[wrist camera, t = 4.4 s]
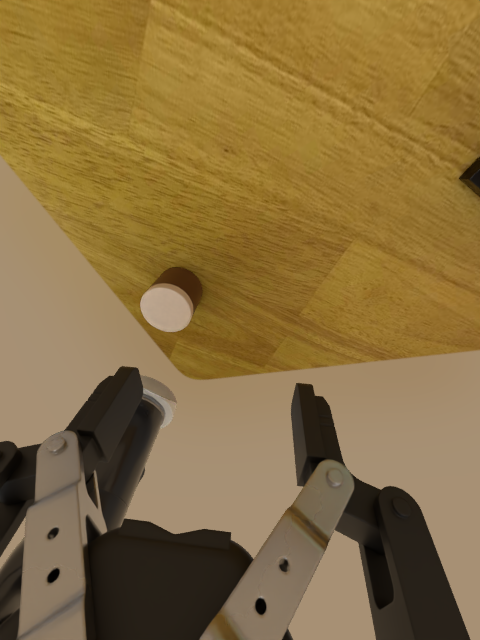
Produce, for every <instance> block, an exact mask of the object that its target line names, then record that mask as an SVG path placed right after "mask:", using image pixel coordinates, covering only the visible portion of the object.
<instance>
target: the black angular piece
mask: <svg viewBox="0 0 480 640" xmlns="http://www.w3.org/2000/svg"><path fill="white" fill-rule="evenodd" d="M459 179H460V180H462V181H463V182H464V183H465V184H466V185H467V186H468V187H470V188H471V189H472V190H473V191H474V192H475V193H476V194H478V195H479V196H480V157H479V158H478V159H477V160H476V161H475V162H474V163H473V164H472V165H471V166H470V167H469V169H468V170H467V171H466V172H465V173H464V174H463V175H462V176H461V177H460V178H459Z"/></svg>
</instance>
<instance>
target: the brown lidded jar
mask: <svg viewBox="0 0 480 640" xmlns="http://www.w3.org/2000/svg"><path fill="white" fill-rule="evenodd" d="M201 297H202V285H201V283H200V281H199V279H198V278H197V277H196V276H195V275H194V274H193V273H192V272H190V271H189V270H187V269H184V268H178V267H175V268H170V269H168V270H166V271H164V272H163V273H162V274H161V276H160V277H159V278H158V279H157V280H156V281H155V282H154V283H153V284H152V286H151V287H150V288H149V289H148V290H147V291H146V292H145V293H144V295H143V296H142V298H141V302H140V307H141V312H142V314H143V316H144V318H145V319H146V320H147V321H148V322H149V323H150V324H151V325H152V326H154V327H155V328H157V329H159V330H162V331H166V332H176V331H179V330H182V329H184V328H185V327H186V326H187V325H188V324H189V322H190V320H191V318H192V316H193V314H194V312H195V310H196V307H197V305H198V303H199V301H200V299H201Z"/></svg>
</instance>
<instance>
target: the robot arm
mask: <svg viewBox="0 0 480 640" xmlns="http://www.w3.org/2000/svg"><path fill="white" fill-rule="evenodd" d="M291 418H292V430H293V441H294V453H295V464H296V476H297V486H303V489H302V491H301V492H300V493H299V495H298V497H297V498H296V500H295V501H294V503H293V504H292V505H291V507H289V508H288V509H287V510H286V511H285V513H284V514H283V516H282V517H281V519H280V520H279V522H278V523H277V525H276V526H275V528H274V529H273V531H272V532H271V534H270V535H269V537H268V538H267V540H266V541H265V543H264V544H263V546H262V548H261V549H260V551H259V552H258V554H257V555H256V557H255V558H254V559H253V558H252V557H251V555H250V554H249V553H248V552H247V551H246V550H245V549H244V548H243V547H242V546H240V545H239V544H237V543H235V542H234V541H232V540H231V532H224V531H216V530H208V529H202V530H196V531H191V532H186V533H181V534H172V533H170V532H168V531H167V530H164V529H163V528H161V527H159V526H157V525H155V524H153V523H151V522H147V521H139V520H131V519H124V517H125V515H126V512H127V509H128V507H129V504H130V502H131V500H132V497H133V494H134V492H135V489H136V487H137V485H138V483H139V482H140V480H141V478H142V477H143V475H144V471H145V464H146V462H147V459H148V457H149V454H150V452H151V449H152V447H153V444H154V442H155V439H156V437H157V434H158V432H159V429H160V427H161V425H162V424H163V421H164V419H165V410H164V408H163V406H162V405H161V404H160V403H159V402H158V401H157V400H155V399H154V398H152V397H151V396H149V395H146V394H144V393H143V385H142V381H141V378H140V374H139V370H138V368H134V367H124V366H122V367H120V368H119V369H118V371H117V372H116V374H115V375H114V376H109V377H107V378H106V379H105V380H103V381H102V382H101V383H100V384H99V385H98V386H97V388H96V389H95V390H94V392H93V394H91V396H90V397H89V398H88V401H86V402H85V404H84V405H83V406H82V408H81V409H80V410H79V412H78V413H77V414H76V416H75V417H74V419H73V420H72V421H71V423H70V424H69V426H68V427H67V428H66V429H65V430H64V431H61V432H58V433H56V434H54V435H52V436H50V437H49V438H48V439H46V440H45V441H44V442H43V443H42V444H37V445H32V446H27V447H22V448H17V446H16V445H15V444H14V443H13V442H10V441H4V442H0V557H1V555H2V553H3V552H4V550H5V549H6V547H7V545H8V544H9V542H10V541H11V539H12V537H13V536H14V534H15V533H16V531H17V529H18V528H19V526H20V524H21V523H22V521H23V519H24V518H25V516H26V523H25V537H24V538H23V539H22V541H21V542H20V543H19V544H18V545H17V547H16V548H15V549H14V550H13V552H12V553H11V554H10V556H9V557H8V559H7V560H6V562H5V563H4V564H3V566H2V567H1V569H0V640H293V638H292V636H291V634H290V632H289V630H288V626H289V624H290V622H291V620H292V618H293V616H294V614H295V612H296V610H297V608H298V606H299V603H300V602H301V599H302V597H303V595H304V593H305V591H306V589H307V587H308V585H309V583H310V581H311V579H312V577H313V575H314V573H315V571H316V569H317V567H318V564H319V562H320V560H321V558H322V556H323V554H324V552H325V550H326V548H327V545H328V542H329V540H330V538H331V536H332V534H333V532H334V530H336V531H338V532H340V533H342V534H343V535H346V536H347V537H349V538H351V539H353V540H355V541H357V542H358V543H359V548H360V554H361V560H362V565H363V570H364V576H365V581H366V587H367V592H368V598H369V603H370V608H371V614H372V619H373V625H374V630H375V635H376V640H470V637H469V635H468V632H467V630H466V627H465V624H464V622H463V619H462V616H461V614H460V611H459V608H458V606H457V603H456V601H455V598H454V596H453V593H452V590H451V588H450V585H449V582H448V580H447V577H446V574H445V572H444V569H443V566H442V564H441V561H440V558H439V556H438V553H437V551H436V548H435V545H434V543H433V540H432V537H431V535H430V532H429V530H428V527H427V525H426V522H425V519H424V516H423V514H422V511H421V509H420V507H419V505H418V504H417V503H416V501H415V500H414V499H413V498H412V497H411V496H410V495H409V494H408V493H406V492H405V491H403V490H402V489H399V488H397V487H392V486H388V487H384V488H383V489H382V490H380V489H377V488H376V487H373V486H371V485H369V484H366V483H364V482H362V481H360V480H359V479H357V478H356V477H355V476H353V475H352V474H351V473H350V472H349V470H348V469H347V468H346V466H345V464H344V462H343V459H342V455H341V451H340V447H339V443H338V439H337V435H336V431H335V427H334V423H333V419H332V414H331V410H330V406H329V405H328V403H327V402H326V400H325V399H324V398H323V397H321V396H315V394H314V390H313V386H312V385H311V384H302V383H296V387H295V391H294V395H293V400H292V405H291ZM122 522H123V523H122Z"/></svg>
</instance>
